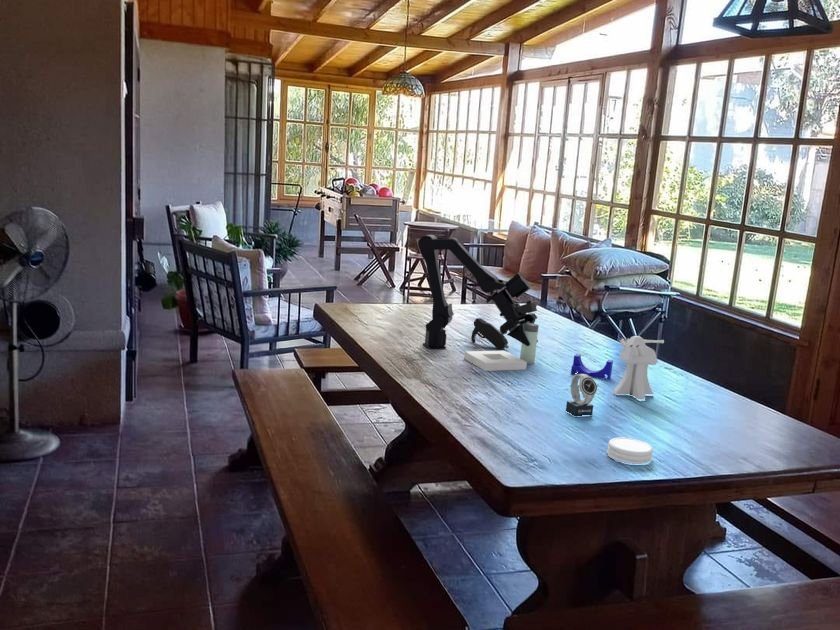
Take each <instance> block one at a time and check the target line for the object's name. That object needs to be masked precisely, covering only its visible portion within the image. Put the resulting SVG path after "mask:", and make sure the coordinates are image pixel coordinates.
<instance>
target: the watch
mask: <svg viewBox="0 0 840 630" xmlns="http://www.w3.org/2000/svg"><path fill="white" fill-rule="evenodd" d="M572 376H573V377H572V378H571V382H570V385H569V386H570V387H569V388H570V395H571V398H572V400H567V401H566V406H565V412H566V411H567V412H569V413H571V414H572V415H574V416H582V415H592V416H593V412H594V405H593V404H592V403H591V402H592V401H593V399H594V398H595V395H596V392H597V391H598V385H597V382H596V381H595V380H594V379H593V377H591V376H588V375H587V374H576V375H574V374H573V375H572ZM580 392H581V393H580ZM580 394H581V395H582V397H583V400H582V399H581V395H580Z"/></svg>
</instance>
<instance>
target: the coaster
mask: <svg viewBox="0 0 840 630" xmlns="http://www.w3.org/2000/svg"><path fill="white" fill-rule="evenodd" d="M653 449H654V448H653V447H652V446H651V445H650V444H649V443H647V442H645V441H643V440H639V439H635V438H630V437H613V438H611V439H610V440H609V441H608V446H607V450H606V451H607V452H606V455H607V454H608V455H607V457H608V456H609V457H611V458H613V459H615V460H617V461H620V462H624V463H632V464H642V463H647V462H649V461H651V459H652V458H653V452H654V450H653ZM609 457H608V458H609ZM651 462H652V461H651Z"/></svg>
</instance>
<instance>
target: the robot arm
mask: <svg viewBox="0 0 840 630" xmlns="http://www.w3.org/2000/svg"><path fill="white" fill-rule="evenodd" d="M417 245H418V248H419V251H420V255H421V257H422V259H423V260H424V262H425V265H426V271H427V275H428V276H427V277H428V282H429V285H430V286H429V288H430V292H431V297H432V301H433V302H432V311H431V315H432V317H431V318H432V319H431V320H430V321H429V322H427V323H426V324H425V335H424V336H425V337H424V342H423V343H422V345H423V346H425V347H426V348H427V349H434V350H436V349H437V350H439V349H441V350H442V349H447V346H446V345H447V344H446V343H447V333H446V332H447V331H446V330H445V329H446V327H447V326H448V325H450V323H451V322H452V321H453V318H454V317H453V316H454V315H455V313H454V311H453V303H448V301H447V300H446V295H445V291H444V286H443V281H442V275H441V269H440V264H439V251H440V250H441V251H443V250H444V251H445V250H449V251H450V252H451V253H452V254H453V255H454V256H455V257H456V258H457V259H458V261H460V262H461V264H462V265H463V266H464V267H465V268H466V269H467V270H468V271H469V273H471V274H472V276H473V277H474V279H475V281H476V283H477V285H478V286H479V288H480V289H481V291H482V292H484V293H487V295H486V301H485V303H487V304H491V303H494V306H496V308H497V309H498V311H499V312H500V313H499V316H500V317H503V318H504V320H505V322H504V323H502V324H501V325H500V326H499V331H500V332H501V333H502V335H504V336H505V335H507V336H509V337H511V338H512V339H514V340H516V341H518V342H519V343H521V344H522V343H523V344H525V345H526V346H529V345H530V343H529V340H528V339H527V337H526V335H525V333H524V331H523V328H524V323H533V324H535V322H536V320H537V319H538V316H537V314H535V313H534V312H537V311H538V308H537V307H538V303H537V302H536V301H534V300H533V299H530V300H527V301H525V302H526V303H525V304H522V305H520V303H518V302H516V303H515V302H514V300H513V298H516V299H518V298H520V297H521V296H523V295H524V294H525V293H527V292H528V291H529V290H530V289H532V286H531V285H530V283H529V282H528V280H527V279H526V278H525V277H524V276H522V275H521V274H520V273H519V272H517V273H516V274H514V275H513V276H512V277H511V278H510V279H509V280H508V281H507V280H503V279H500V278H498V276H497V275H496V274H494V273H493V272H491V271H490V270H488V269H487V268H485V267H484V266H483V265H481V264H480V263H479V261H477V259H476V258H474V256H473V255H472V254H471V253H470V252H469V251H468V250H467V249H466V247H465V246H464V245H463V244H462V243H461V242H460V241H459V239H457V238H456V237H437V236H436V235H434V234H426V235H424V236H421V237H420V238H419V240H418V242H417ZM499 290H500V291H499ZM493 292H494V293H493ZM491 293H492V294H491ZM490 294H491V295H490ZM538 342H539V340H538V339H537V343H538Z"/></svg>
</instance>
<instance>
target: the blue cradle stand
mask: <svg viewBox="0 0 840 630" xmlns="http://www.w3.org/2000/svg"><path fill="white" fill-rule="evenodd" d="M613 364H614V360H612V359H608V360H606V363H605V365H604V366H603V368H602V369H598V370H593V369H589V368H588V367H586V365H585V364H583V361H582V354H580V353H579V354H578V353H575V354H574V355H573V361H572V365H571V369H570V375H574V374H575V373H577V372H578V373H577V374H587V375H588V376H590V377H591V376H593V377H592V378H596V377H598V378H597V379H601V378H605V377H607V379H609V380H611V379H612V372H613V366H614V365H613Z"/></svg>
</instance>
